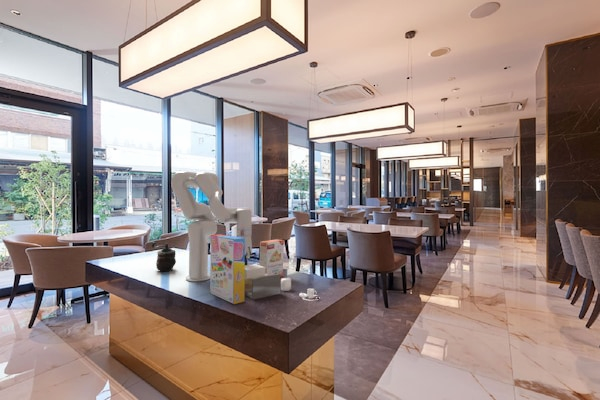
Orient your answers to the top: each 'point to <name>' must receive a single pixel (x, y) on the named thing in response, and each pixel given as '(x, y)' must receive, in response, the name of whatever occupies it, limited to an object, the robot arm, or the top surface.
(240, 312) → the top surface
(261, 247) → the cracker box
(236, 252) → the game box
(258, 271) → the carton
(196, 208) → the robot arm
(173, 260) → the coffee grinder
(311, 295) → the teacup and saucer
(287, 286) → the white rounded block
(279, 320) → the top surface
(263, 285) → the stand
